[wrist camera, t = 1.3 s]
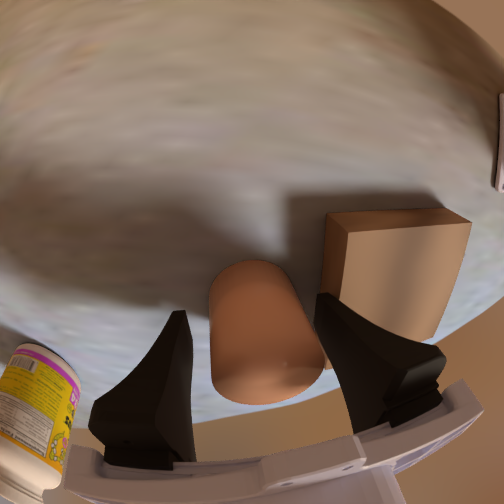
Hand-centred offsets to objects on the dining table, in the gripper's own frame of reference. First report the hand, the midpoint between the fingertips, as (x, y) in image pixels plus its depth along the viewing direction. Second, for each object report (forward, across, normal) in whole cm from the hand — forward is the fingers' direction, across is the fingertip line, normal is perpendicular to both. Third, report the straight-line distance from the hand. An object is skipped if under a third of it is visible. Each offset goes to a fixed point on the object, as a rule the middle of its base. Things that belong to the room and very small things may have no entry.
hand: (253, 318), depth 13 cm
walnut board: (+2, -9, 0) cm, 9 cm away
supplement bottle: (+2, +17, +6) cm, 18 cm away
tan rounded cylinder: (+2, 0, 0) cm, 2 cm away
